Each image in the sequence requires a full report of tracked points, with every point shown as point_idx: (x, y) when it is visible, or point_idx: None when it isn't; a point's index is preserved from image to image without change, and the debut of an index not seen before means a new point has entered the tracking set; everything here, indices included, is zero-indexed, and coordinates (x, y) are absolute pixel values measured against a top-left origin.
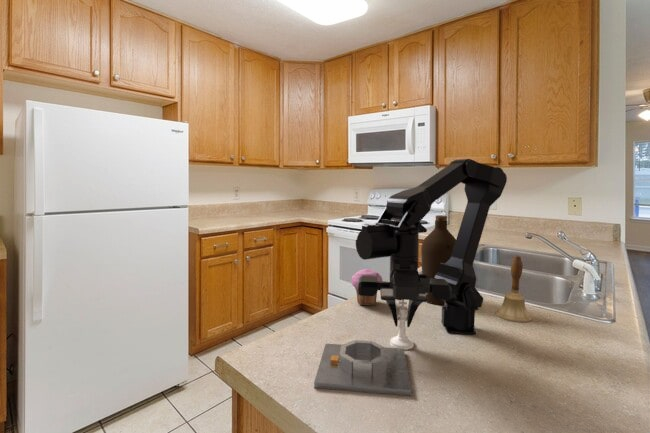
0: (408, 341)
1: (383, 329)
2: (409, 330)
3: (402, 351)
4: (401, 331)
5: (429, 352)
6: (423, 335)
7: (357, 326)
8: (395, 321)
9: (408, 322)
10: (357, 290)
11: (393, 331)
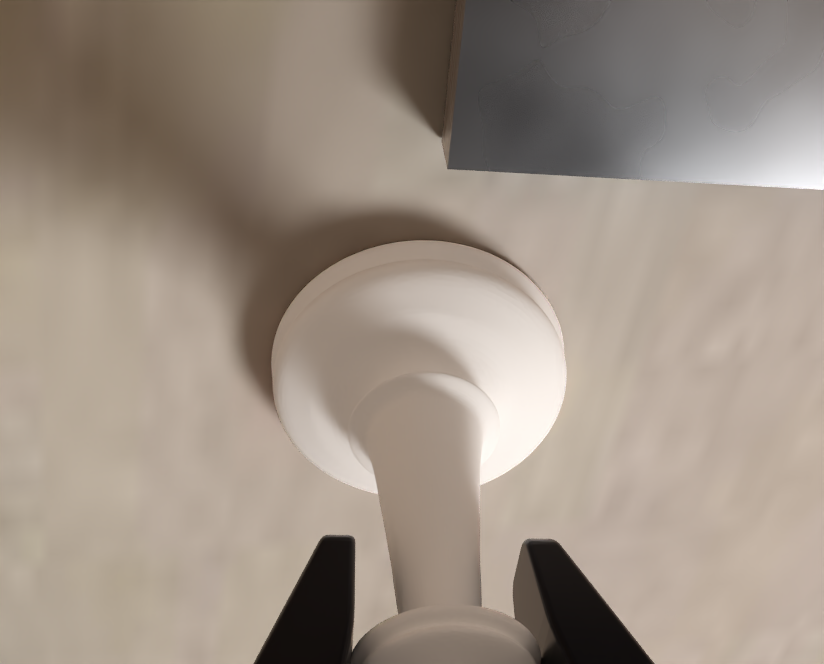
0: (342, 365)
1: None
2: None
3: (484, 76)
4: (449, 472)
5: (69, 199)
6: (139, 559)
7: (808, 647)
8: (586, 606)
9: (339, 600)
10: None
11: None
